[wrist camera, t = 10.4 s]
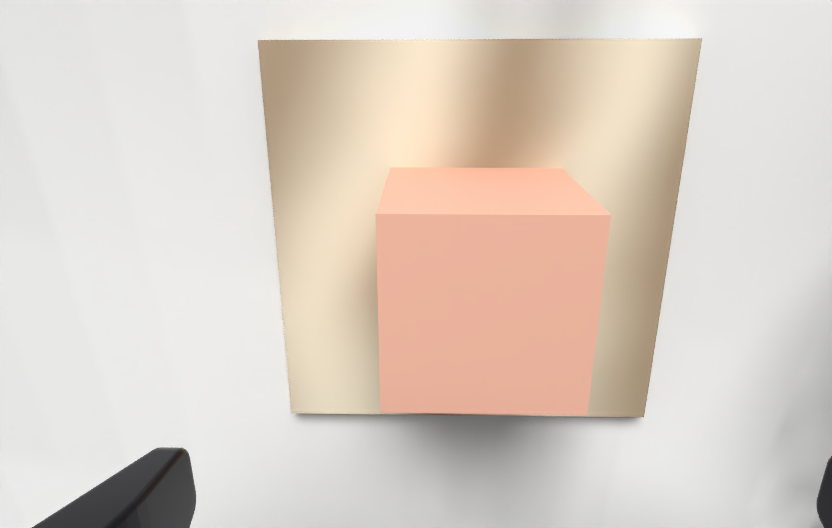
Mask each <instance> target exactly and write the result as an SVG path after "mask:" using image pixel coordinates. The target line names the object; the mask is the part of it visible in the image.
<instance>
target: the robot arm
mask: <svg viewBox="0 0 832 528" xmlns="http://www.w3.org/2000/svg"><path fill="white" fill-rule="evenodd" d="M195 506H196V491H195V485H194V479H193V473H192V467H191V462H190V457H189V454H188V452H187V450H185V449H184V448H156V449H154V450H152V451H151V452H149V453H148V454H146V455H144V456H143V457H141V458H140V459H138V460H137V461H135V462H134V463H132V464H130V465H129V466H127V467H126V468H124V469H123V470H121V471H119V472H118V473H116V474H115V475H113V476H112V477H110V478H109V479H107V480H105V481H104V482H102V483H101V484H99V485H98V486H96V487H95V488H93V489H91V490H90V491H88V492H87V493H85V494H84V495H82V496H80V497H79V498H77V499H76V500H74V501H73V502H71V503H70V504H68V505H66V506H65V507H63V508H62V509H60V510H59V511H57V512H56V513H54V514H52V515H51V516H49V517H48V518H46V519H45V520H43V521H41V522H40V523H38V524H37V525H35V526H34V527H32V528H189V527H190V524H191V521H192V518H193V514H194V511H195ZM817 512H818V515H819V518H820V521H821V523H822V525H823V527H824V528H832V456H831V458H830V459H829V460H828V463H827V466H826V469H825V473H824V476H823V480H822V483H821V487H820V490H819V494H818V497H817Z"/></svg>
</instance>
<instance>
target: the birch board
mask: <svg viewBox="0 0 832 528" xmlns="http://www.w3.org/2000/svg"><path fill="white" fill-rule="evenodd" d="M701 42H702V39H467V40H258V48H259V59H260V70H261V81H262V92H263V103H264V114H265V125H266V136H267V147H268V158H269V169H270V180H271V191H272V202H273V214H274V225H275V236H276V247H277V258H278V269H279V280H280V291H281V302H282V313H283V324H284V335H285V346H286V357H287V368H288V379H289V390H290V402H291V413H312V414H403V415H494V416H584V417H644V413H645V407H646V400H647V394H648V387H649V380H650V374H651V367H652V361H653V354H654V348H655V341H656V335H657V328H658V322H659V315H660V309H661V302H662V296H663V289H664V283H665V276H666V270H667V263H668V257H669V250H670V244H671V237H672V231H673V224H674V218H675V211H676V205H677V198H678V192H679V185H680V179H681V172H682V166H683V159H684V153H685V146H686V140H687V133H688V127H689V120H690V114H691V107H692V101H693V94H694V88H695V81H696V75H697V68H698V61H699V55H700V48H701ZM390 167H421V168H563V169H564V170H565V171H566V172H567V173H568V174H569V175H570V176H571V177H572V178H573V179H574V180H575V181H576V182H577V183H578V184H579V185H580V186H581V187H582V188H583V189H584V190H585V191H586V192H588V193H589V194H590V195H591V196H592V197H593V198H594V199H595V200H596V201H597V202H598V203H599V204H600V205H601V206H602V207H603V208H604V209H605V210H606V211H607V212H608V213H609V214H610V215H611V220H610V228H609V237H608V245H607V254H606V262H605V271H604V279H603V287H602V296H601V304H600V313H599V321H598V330H597V338H596V346H595V355H594V363H593V372H592V380H591V389H590V397H589V405H588V414H587V415H523V414H453V413H382V412H380V376H379V335H378V294H377V254H376V211H377V208H378V205H379V202H380V198H381V195H382V192H383V189H384V186H385V183H386V180H387V177H388V174H389V171H390Z"/></svg>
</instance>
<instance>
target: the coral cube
mask: <svg viewBox="0 0 832 528" xmlns="http://www.w3.org/2000/svg"><path fill="white" fill-rule="evenodd" d="M610 220H611V215H610V214H609V213H608V212H607V211H606V210H605V209H604V208H603V207H602V206H601V205H600V204H599V203H598V202H597V201H596V200H595V199H594V198H593V197H592V196H591V195H590V194H589V193H588V192H586V191H585V190H584V189H583V188H582V187H581V186H580V185H579V184H578V183H577V182H576V181H575V180H574V179H573V178H572V177H571V176H570V175H569V174H568V173H567V172H566V171H565V170H564V169H563V168H421V167H390V171H389V174H388V177H387V180H386V183H385V186H384V189H383V192H382V195H381V198H380V202H379V205H378V208H377V211H376V254H377V294H378V335H379V376H380V412H382V413H453V414H523V415H587V414H588V405H589V397H590V389H591V380H592V372H593V363H594V355H595V346H596V338H597V330H598V321H599V313H600V304H601V296H602V287H603V279H604V271H605V262H606V254H607V245H608V237H609V228H610Z"/></svg>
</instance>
